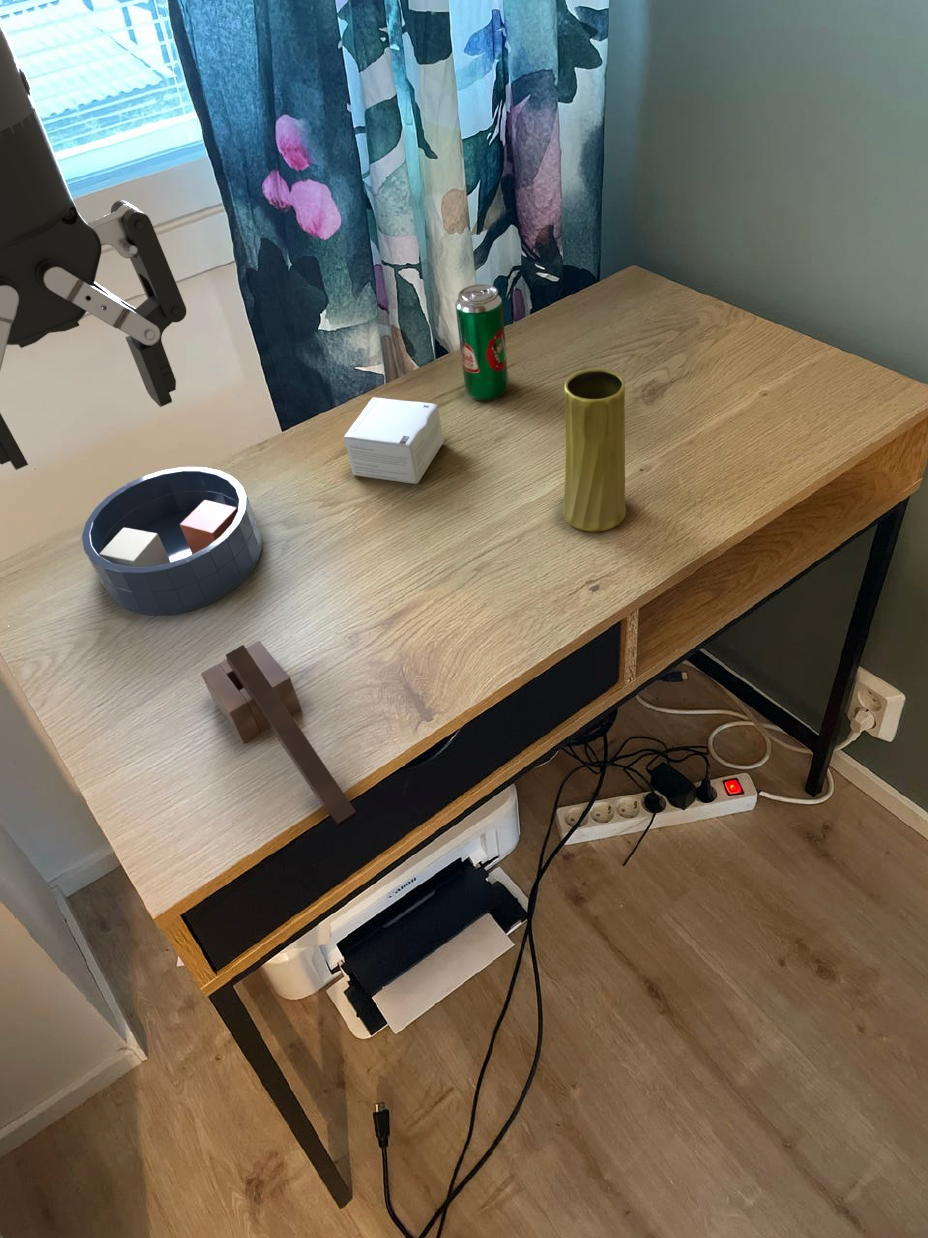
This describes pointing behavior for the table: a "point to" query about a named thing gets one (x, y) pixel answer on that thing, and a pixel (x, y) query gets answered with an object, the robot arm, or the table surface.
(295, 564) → the table surface
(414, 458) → the small box
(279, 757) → the table surface
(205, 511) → the terracotta block
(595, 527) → the vase
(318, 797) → the stirring stick
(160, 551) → the cream block
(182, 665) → the table surface
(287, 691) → the stick stand
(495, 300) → the soda can
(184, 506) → the bowl
